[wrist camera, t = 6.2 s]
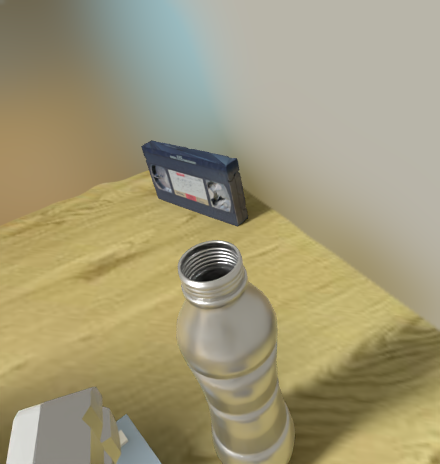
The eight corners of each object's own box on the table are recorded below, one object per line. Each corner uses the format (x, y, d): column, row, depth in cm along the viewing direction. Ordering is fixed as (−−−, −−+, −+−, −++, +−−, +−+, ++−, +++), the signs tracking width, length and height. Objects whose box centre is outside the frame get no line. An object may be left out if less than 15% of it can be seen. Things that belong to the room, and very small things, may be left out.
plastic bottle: (216, 494, 32) (139, 311, 21) (221, 411, 38) (162, 231, 26) (301, 492, 31) (269, 299, 20) (294, 408, 37) (266, 219, 25)
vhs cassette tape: (157, 199, 72) (140, 145, 66) (169, 190, 74) (154, 137, 68) (236, 229, 60) (223, 167, 55) (249, 219, 62) (238, 157, 56)
